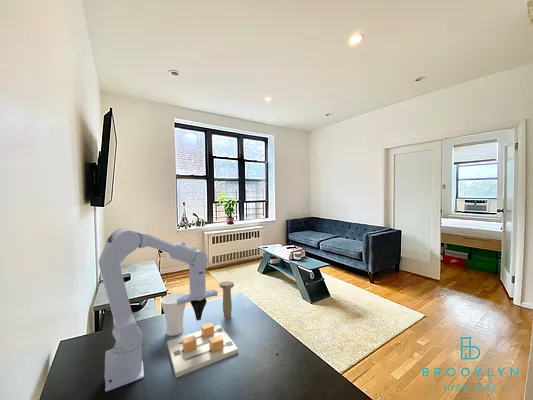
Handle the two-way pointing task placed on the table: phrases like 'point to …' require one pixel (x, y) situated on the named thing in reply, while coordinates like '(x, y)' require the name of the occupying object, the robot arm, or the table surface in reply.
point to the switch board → (199, 352)
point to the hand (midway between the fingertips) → (198, 319)
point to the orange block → (216, 343)
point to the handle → (227, 298)
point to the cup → (173, 313)
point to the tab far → (207, 329)
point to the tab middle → (189, 343)
